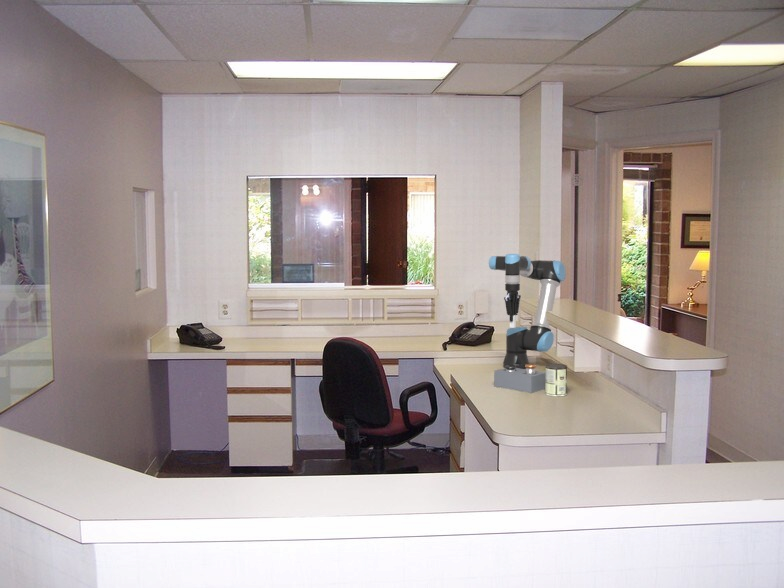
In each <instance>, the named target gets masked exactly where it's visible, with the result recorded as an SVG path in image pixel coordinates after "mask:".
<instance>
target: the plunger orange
mask: <svg viewBox="0 0 784 588" xmlns="http://www.w3.org/2000/svg"><path fill="white" fill-rule="evenodd" d="M525 367H526V374H529V375H534V374H535V371H536V368H537V365H536V364H534V363H530V364H526V365H525Z"/></svg>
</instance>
